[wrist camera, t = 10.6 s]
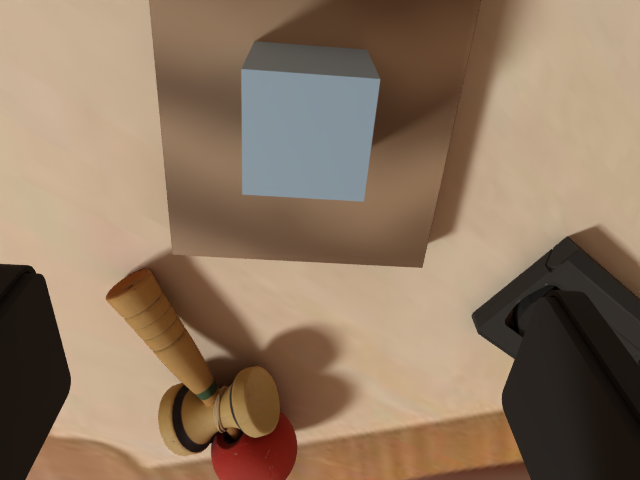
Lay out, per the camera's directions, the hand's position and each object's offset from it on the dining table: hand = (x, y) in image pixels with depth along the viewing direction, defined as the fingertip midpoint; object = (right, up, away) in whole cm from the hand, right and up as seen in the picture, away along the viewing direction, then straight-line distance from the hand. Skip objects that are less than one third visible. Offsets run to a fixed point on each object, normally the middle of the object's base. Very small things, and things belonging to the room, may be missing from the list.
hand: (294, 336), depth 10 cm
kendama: (-7, -7, +26) cm, 28 cm away
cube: (0, +8, +14) cm, 16 cm away
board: (0, +9, +16) cm, 18 cm away
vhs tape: (+18, -4, +25) cm, 31 cm away
